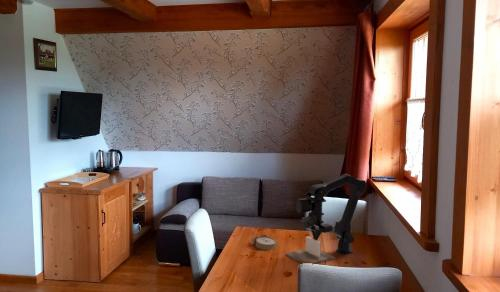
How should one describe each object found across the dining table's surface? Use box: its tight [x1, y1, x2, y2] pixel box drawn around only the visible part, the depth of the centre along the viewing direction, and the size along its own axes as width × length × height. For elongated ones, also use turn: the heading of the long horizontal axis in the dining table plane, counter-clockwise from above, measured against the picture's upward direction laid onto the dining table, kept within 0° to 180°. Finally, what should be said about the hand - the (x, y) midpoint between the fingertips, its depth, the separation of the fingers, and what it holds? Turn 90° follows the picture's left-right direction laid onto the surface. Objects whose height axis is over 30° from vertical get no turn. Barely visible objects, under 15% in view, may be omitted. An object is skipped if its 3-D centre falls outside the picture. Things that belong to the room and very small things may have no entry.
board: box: [285, 248, 335, 265], centre depth 195 cm, size 18×16×1 cm
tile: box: [305, 236, 322, 256], centre depth 195 cm, size 7×10×1 cm
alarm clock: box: [251, 234, 279, 251], centre depth 210 cm, size 11×5×15 cm
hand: (315, 240), depth 196 cm, fingers closed, pressing on tile
